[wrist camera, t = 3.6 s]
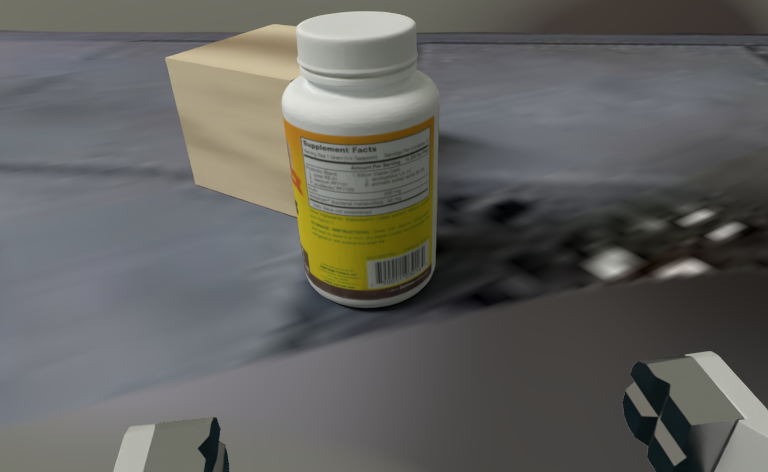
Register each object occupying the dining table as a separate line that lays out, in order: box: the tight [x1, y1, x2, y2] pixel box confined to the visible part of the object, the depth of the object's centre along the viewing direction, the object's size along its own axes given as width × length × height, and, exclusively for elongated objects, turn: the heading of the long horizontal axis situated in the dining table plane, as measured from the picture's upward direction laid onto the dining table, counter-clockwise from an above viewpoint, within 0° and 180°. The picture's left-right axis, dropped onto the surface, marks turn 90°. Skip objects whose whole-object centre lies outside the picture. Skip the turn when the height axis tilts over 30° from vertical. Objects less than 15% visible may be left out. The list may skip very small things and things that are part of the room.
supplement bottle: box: [282, 11, 439, 308], centre depth 21 cm, size 6×6×10 cm
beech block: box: [165, 24, 301, 217], centre depth 30 cm, size 8×8×7 cm
